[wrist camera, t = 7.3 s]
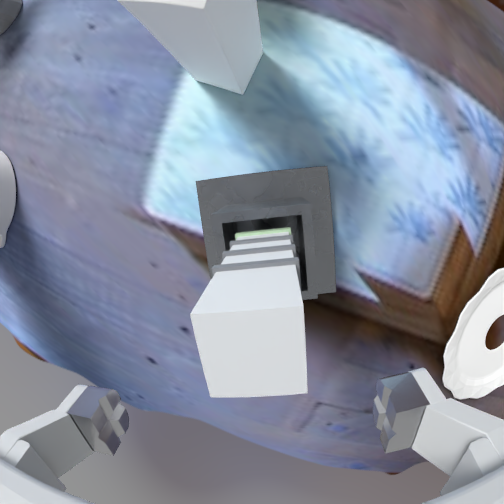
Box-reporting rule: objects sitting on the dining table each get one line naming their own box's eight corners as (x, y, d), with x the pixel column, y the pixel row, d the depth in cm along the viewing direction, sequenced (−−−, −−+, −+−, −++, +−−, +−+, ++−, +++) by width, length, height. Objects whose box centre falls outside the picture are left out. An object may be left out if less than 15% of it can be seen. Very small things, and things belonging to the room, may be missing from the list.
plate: (502, 391, 37) (506, 396, 35) (412, 393, 37) (416, 400, 36) (556, 273, 30) (562, 276, 29) (478, 239, 31) (485, 243, 29)
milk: (243, 95, 29) (188, -20, 8) (194, 80, 29) (88, -20, 8) (264, 51, 28) (244, -88, 7) (215, 37, 28) (146, -88, 6)
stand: (216, 299, 35) (196, 342, 26) (198, 181, 32) (166, 183, 22) (334, 288, 34) (353, 330, 24) (325, 166, 31) (346, 162, 21)
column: (244, 278, 27) (207, 400, 11) (238, 229, 26) (183, 309, 10) (294, 273, 26) (312, 396, 11) (289, 224, 25) (308, 299, 10)
